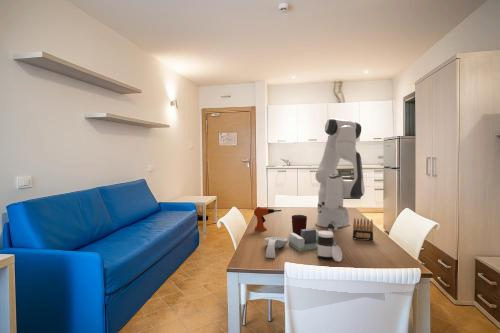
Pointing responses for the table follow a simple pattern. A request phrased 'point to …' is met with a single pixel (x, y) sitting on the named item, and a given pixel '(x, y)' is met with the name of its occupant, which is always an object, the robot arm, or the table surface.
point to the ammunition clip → (363, 229)
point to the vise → (301, 243)
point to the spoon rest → (274, 245)
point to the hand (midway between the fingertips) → (334, 229)
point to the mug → (298, 223)
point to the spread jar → (328, 246)
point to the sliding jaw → (330, 228)
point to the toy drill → (260, 219)
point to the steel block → (308, 235)
